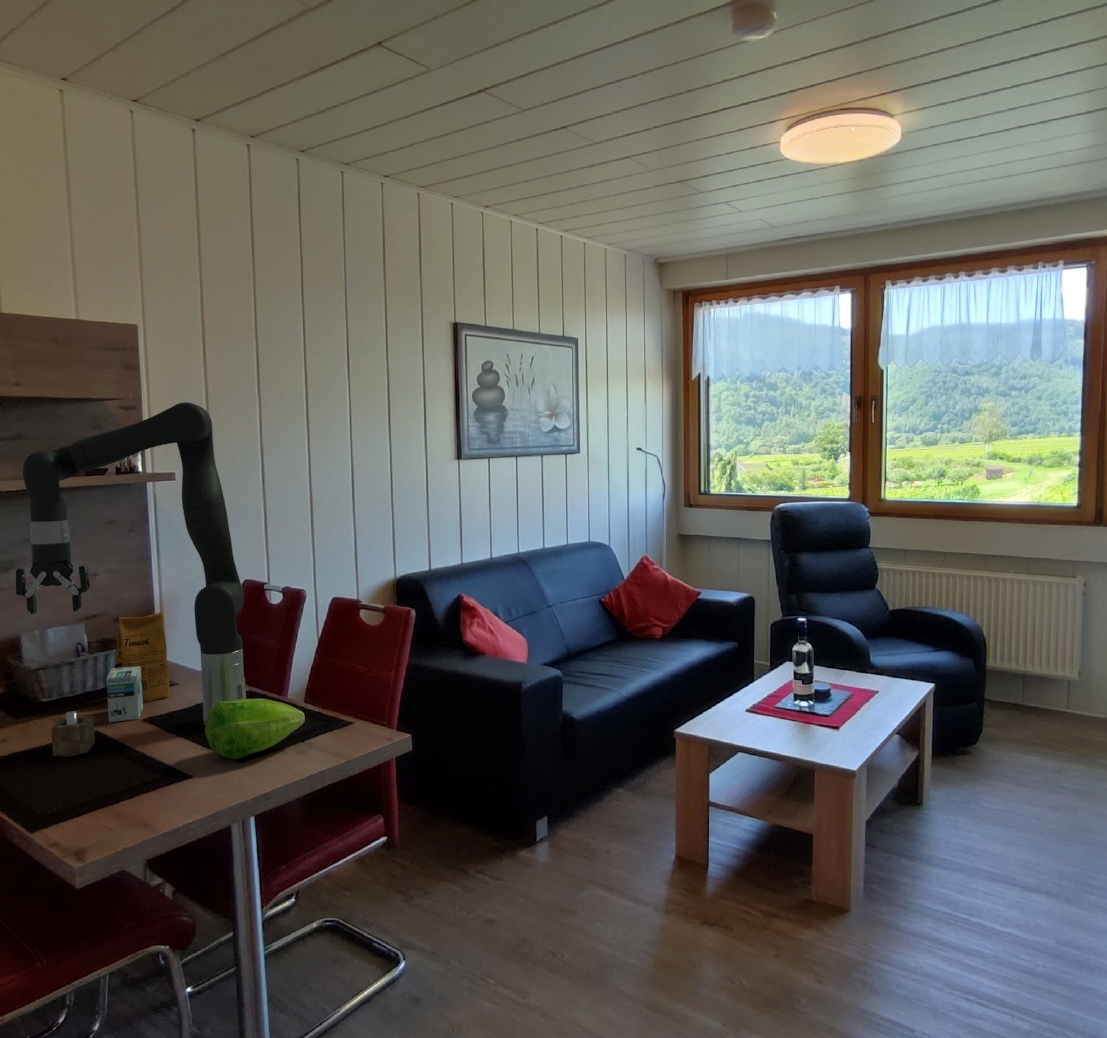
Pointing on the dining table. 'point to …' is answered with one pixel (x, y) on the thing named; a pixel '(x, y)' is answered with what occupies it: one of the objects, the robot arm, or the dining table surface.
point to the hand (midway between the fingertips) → (54, 612)
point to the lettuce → (249, 725)
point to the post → (71, 719)
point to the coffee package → (145, 653)
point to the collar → (73, 736)
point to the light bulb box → (124, 693)
